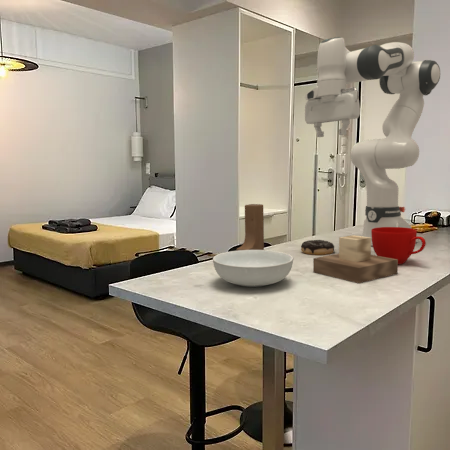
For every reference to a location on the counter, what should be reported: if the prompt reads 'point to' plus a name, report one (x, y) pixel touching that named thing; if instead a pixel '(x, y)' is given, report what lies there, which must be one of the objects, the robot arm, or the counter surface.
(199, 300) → the counter surface
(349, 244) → the beech cube
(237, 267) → the serving bowl
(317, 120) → the robot arm
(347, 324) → the counter surface
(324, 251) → the donut
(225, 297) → the counter surface
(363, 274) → the plinth
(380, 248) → the ceramic cup
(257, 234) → the wooden block
